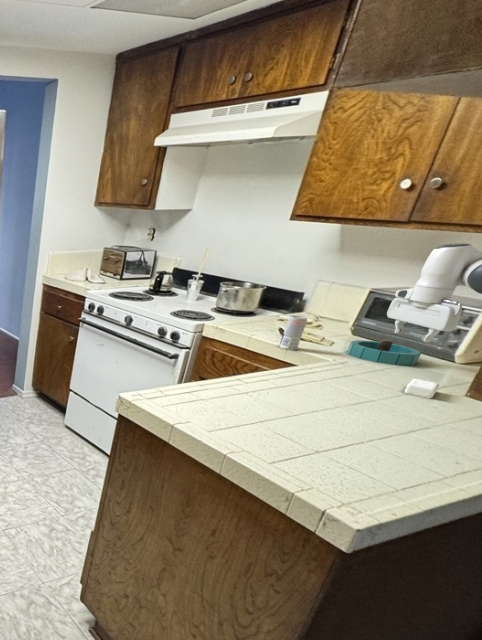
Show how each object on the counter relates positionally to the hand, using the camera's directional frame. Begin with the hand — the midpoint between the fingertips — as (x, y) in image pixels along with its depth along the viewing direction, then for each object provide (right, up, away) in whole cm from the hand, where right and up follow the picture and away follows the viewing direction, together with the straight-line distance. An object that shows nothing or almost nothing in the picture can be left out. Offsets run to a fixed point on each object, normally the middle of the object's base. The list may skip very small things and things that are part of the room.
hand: (411, 337), depth 155 cm
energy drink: (-25, -2, +20) cm, 32 cm away
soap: (-21, -19, -21) cm, 35 cm away
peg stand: (+1, -6, +11) cm, 12 cm away
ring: (+1, -6, +11) cm, 12 cm away
